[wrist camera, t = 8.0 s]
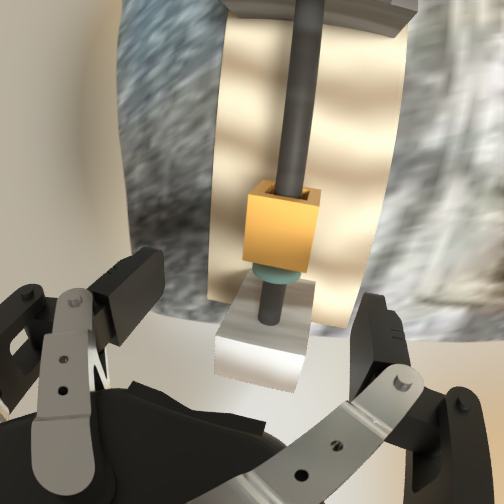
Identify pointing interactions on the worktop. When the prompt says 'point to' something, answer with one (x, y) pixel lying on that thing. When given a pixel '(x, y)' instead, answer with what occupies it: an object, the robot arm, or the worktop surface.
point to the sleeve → (280, 227)
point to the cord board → (329, 153)
